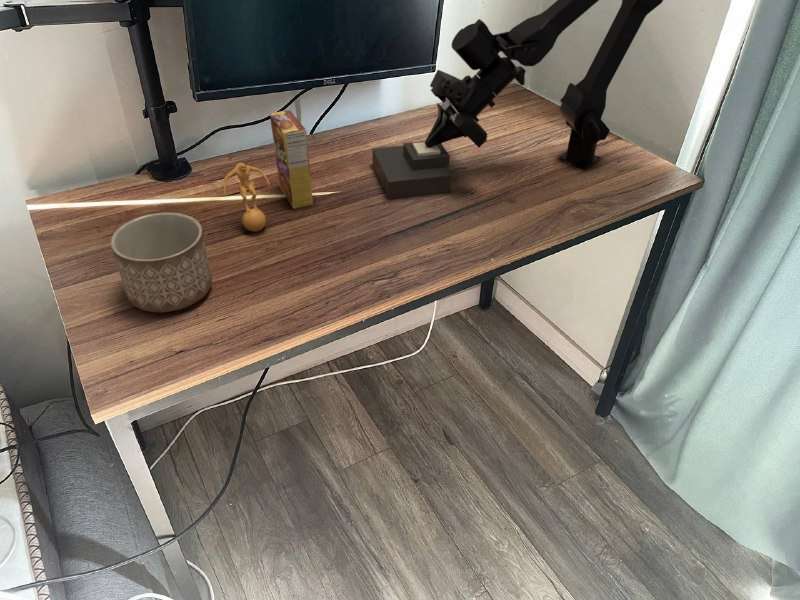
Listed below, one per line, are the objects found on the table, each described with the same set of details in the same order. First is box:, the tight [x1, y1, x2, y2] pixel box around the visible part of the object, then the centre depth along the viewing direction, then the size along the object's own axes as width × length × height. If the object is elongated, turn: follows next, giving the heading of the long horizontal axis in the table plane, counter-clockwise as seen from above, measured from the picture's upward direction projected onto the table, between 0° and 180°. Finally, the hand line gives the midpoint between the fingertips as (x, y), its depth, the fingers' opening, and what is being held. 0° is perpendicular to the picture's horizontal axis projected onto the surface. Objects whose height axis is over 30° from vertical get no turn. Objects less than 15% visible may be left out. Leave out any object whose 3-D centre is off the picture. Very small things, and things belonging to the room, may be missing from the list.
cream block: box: [413, 141, 441, 157], centre depth 128 cm, size 4×4×2 cm
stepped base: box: [371, 140, 451, 200], centre depth 129 cm, size 13×14×6 cm
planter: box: [110, 212, 213, 313], centre depth 99 cm, size 13×13×10 cm
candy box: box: [269, 109, 314, 210], centre depth 120 cm, size 9×4×15 cm, turn 25°
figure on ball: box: [222, 162, 271, 232], centre depth 113 cm, size 8×6×12 cm
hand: (426, 145), depth 127 cm, fingers closed, pressing on cream block
